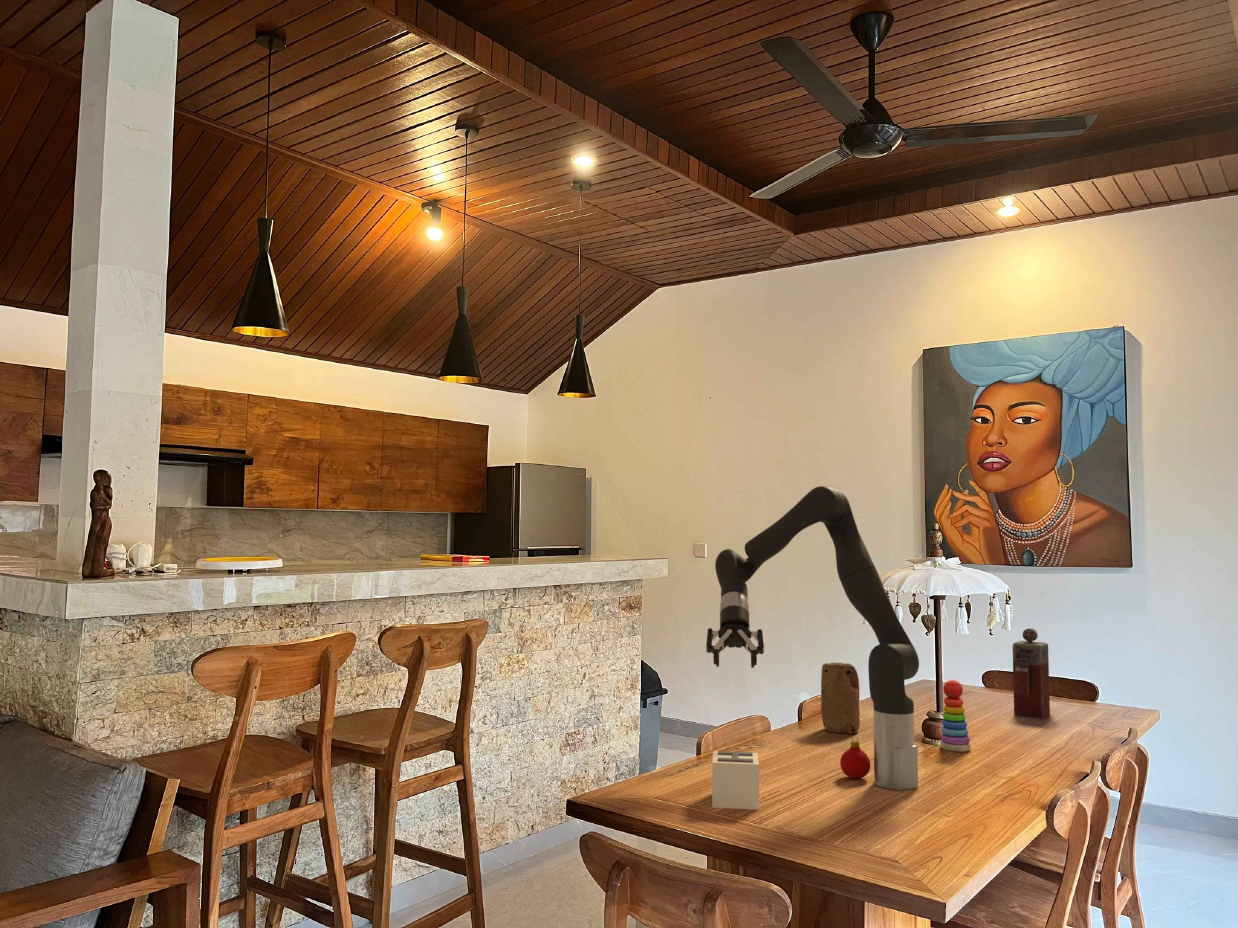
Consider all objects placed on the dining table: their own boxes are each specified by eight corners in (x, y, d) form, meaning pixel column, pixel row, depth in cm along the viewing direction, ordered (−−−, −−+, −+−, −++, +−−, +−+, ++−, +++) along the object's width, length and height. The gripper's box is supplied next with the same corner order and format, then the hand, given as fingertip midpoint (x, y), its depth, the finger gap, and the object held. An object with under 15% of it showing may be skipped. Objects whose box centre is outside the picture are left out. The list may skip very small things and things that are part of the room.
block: (819, 730, 267) (818, 663, 269) (829, 726, 273) (828, 660, 275) (854, 735, 261) (853, 666, 262) (863, 731, 267) (862, 663, 268)
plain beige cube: (712, 760, 194) (712, 807, 193) (758, 762, 192) (759, 809, 192) (713, 749, 204) (713, 794, 203) (757, 750, 202) (757, 796, 202)
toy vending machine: (1011, 715, 291) (1009, 628, 293) (1021, 710, 300) (1019, 626, 302) (1041, 719, 285) (1038, 631, 287) (1050, 714, 294) (1047, 628, 296)
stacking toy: (946, 744, 252) (944, 676, 253) (975, 748, 247) (973, 679, 248) (935, 749, 246) (934, 680, 247) (965, 754, 241) (964, 683, 242)
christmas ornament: (849, 783, 212) (849, 740, 213) (834, 775, 219) (834, 733, 219) (876, 781, 214) (875, 738, 215) (860, 773, 221) (860, 732, 221)
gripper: (706, 603, 230) (705, 655, 218) (762, 604, 228) (764, 656, 216) (707, 622, 235) (706, 673, 223) (761, 623, 233) (764, 675, 221)
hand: (735, 665), depth 220 cm, fingers open, 8 cm apart
